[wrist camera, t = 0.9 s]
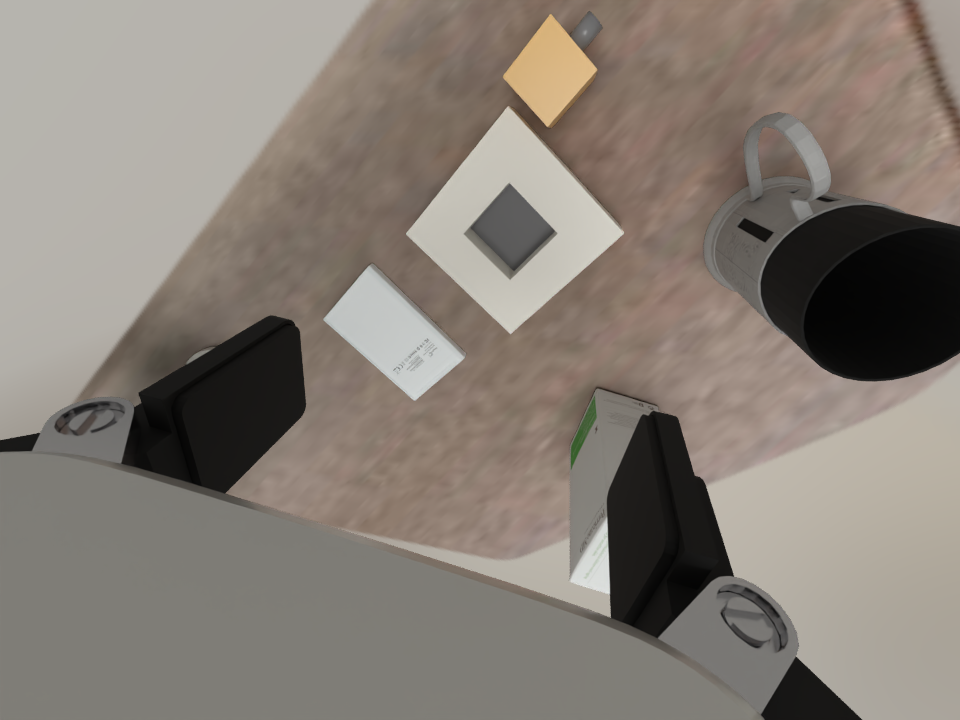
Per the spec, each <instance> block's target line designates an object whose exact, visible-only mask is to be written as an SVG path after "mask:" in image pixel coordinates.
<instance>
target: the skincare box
mask: <svg viewBox="0 0 960 720" xmlns="http://www.w3.org/2000/svg"><path fill="white" fill-rule="evenodd" d="M652 411H656V412H659V409H658V407H657V406H655V405H651V404H648V403H645V402H641V401H638V400H635V399H632V398H628V397H625V396H622V395H618V394H615V393H611V392H608V391H605V390H602V389H596V390H595V392H594V395H593V397H592V399H591V401H590V403H589V405H588V407H587V409H586V412H585V414H584V416H583V418H582V421H581V423H580V425H579V427H578V429H577V432H576V434H575V436H574V438H573V440H572V442H571V444H570V578H569V581H570V582H572V583H575V584H578V585H581V586H584V587H587V588H590V589H594V590H597V591H600V592H604V593H607V594H610V579H609V552H608V525H607V495H608V491H609V488H610V486H611V483H612V481H613V479H614V476H615V474H616V472H617V470H618V467H619V465H620V463H621V460H622V458H623V456H624V453H625V451H626V449H627V447H628V444H629V442H630V440H631V437H632V435H633V433H634V431H635V428H636V426H637V424H638V421H639V419H640V417H641V416H642V415H643V414H645V415H649V414H650V413H651V412H652Z"/></svg>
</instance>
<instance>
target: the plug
mask: <svg viewBox="0 0 960 720" xmlns="http://www.w3.org/2000/svg"><path fill="white" fill-rule="evenodd" d="M601 30H602V25H601V24H600V22H599V21H598V19H597V18H596V17H595V16H594V15H593V14H592V13H591V12H590V11H589V12H588V13H587V14H586V15H585V17H584V18H583V19H582V20H581V22H580V23H579V24H578V25H577V27H576V28H575V29H574V30H573V32H572V33H571V34H570V35H568V34H567V33H566V31H565V30H564V29H563V28H562V27H561V25H560V24H559V23H558V22H557V21H556V19H555V18H554V17H553V16H552V15H551V14H550V15H549V17H548V18H547V19H546V21H545V22H544V23H543V25H542V26H541V27H540V28H539V30H538V31H537V32H536V34H535V35H534V36H533V38H532V39H531V40H530V42H529V43H528V44H527V45H526V47H525V48H524V49H523V51H522V52H521V53H520V55H519V56H518V57H517V59H516V60H515V61H514V63H513V64H512V65H511V66H510V68H509V69H508V70H507V72H506V73H505V74H504V76H503V78H504V79H505V80H506V81H507V82H508V84H509V85H510V86H511V87H512V88H513V89H514V90H515V91H516V93H517V94H518V95H519V96H520V97H521V98H522V99H523V100H524V101H525V103H526V104H527V105H528V106H529V107H530V108H531V109H532V110H533V111H534V113H535V114H536V115H537V116H538V117H539V118H540V119H541V120H542V121H543V123H544V124H545V125H546V126H547V127H549V128H552V127H553V126H554V125H555V124H556V123H557V122H558V121H559V119H560V118H561V117H562V116H563V115H564V114H565V113H566V111H567V110H568V109H569V108H570V107H571V106H572V105H573V104H574V102H575V101H576V100H577V99H578V98H579V97H580V96H581V94H582V93H583V92H584V91H585V90H586V89H587V88H588V86H589V85H590V84H591V83H592V82H593V81H594V79H595V76H596V73H597V70H598V69H597V68H596V67H595V66H594V65H593V63H592V62H591V61H590V60H589V59H588V58H587V56H586V55H585V54H584V53H583V51H584V50H585V49H586V48H587V46H588V45H589V44H590V43H591V42H592V40H593V39H594V38H595V37H596V36H597V34H598V33H599V32H600V31H601Z"/></svg>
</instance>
